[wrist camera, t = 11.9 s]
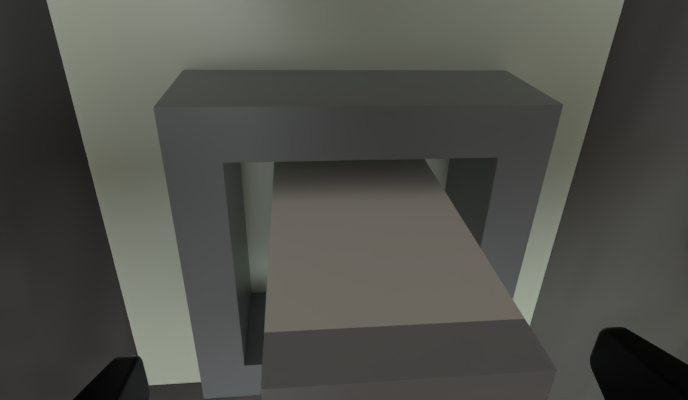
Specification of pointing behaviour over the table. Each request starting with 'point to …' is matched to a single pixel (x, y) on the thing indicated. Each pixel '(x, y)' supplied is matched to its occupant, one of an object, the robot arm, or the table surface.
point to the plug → (386, 293)
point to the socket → (314, 139)
